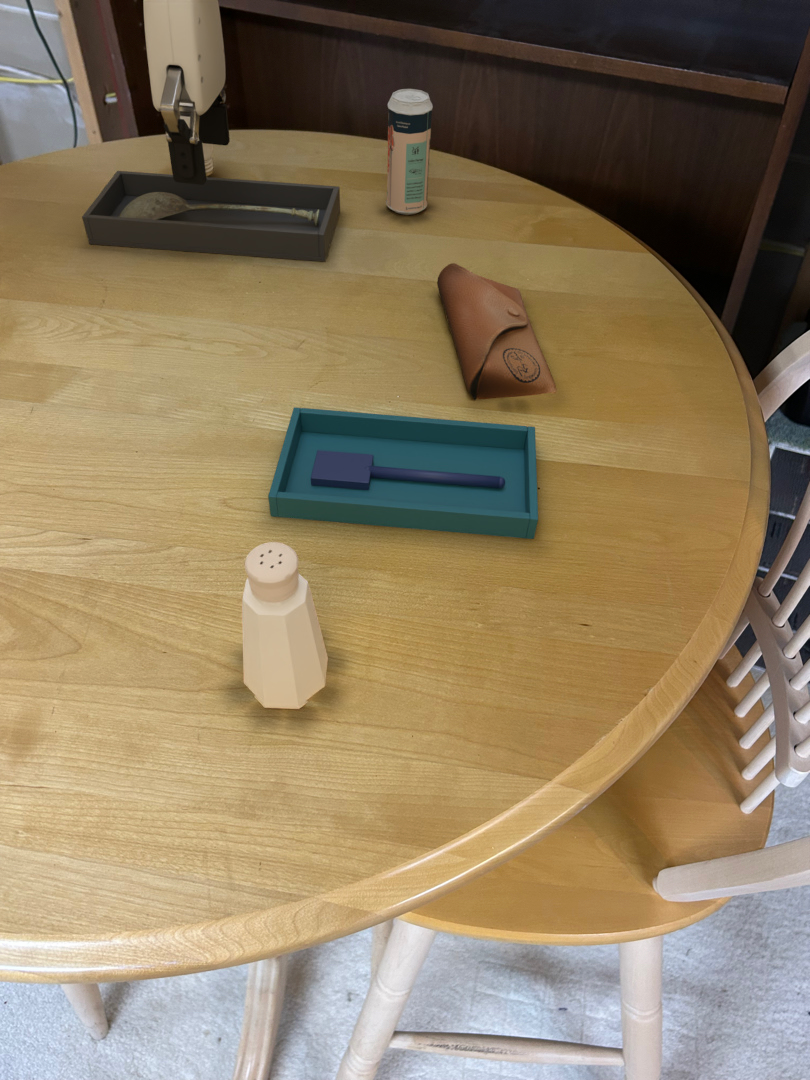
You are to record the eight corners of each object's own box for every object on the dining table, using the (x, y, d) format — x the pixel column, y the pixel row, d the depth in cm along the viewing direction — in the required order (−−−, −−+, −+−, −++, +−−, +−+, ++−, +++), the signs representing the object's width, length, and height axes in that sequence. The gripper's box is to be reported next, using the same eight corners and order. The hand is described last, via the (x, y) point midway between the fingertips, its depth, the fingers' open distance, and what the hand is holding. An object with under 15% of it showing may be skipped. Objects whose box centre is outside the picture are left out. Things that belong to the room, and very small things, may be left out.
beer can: (401, 194, 95) (405, 83, 86) (435, 206, 93) (442, 94, 85) (377, 208, 93) (378, 96, 84) (411, 221, 91) (416, 107, 82)
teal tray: (271, 520, 59) (267, 496, 57) (295, 431, 66) (293, 406, 64) (533, 543, 58) (538, 519, 56) (530, 450, 65) (535, 426, 63)
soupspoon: (127, 211, 90) (113, 242, 86) (118, 181, 88) (104, 212, 84) (322, 210, 90) (318, 241, 86) (319, 180, 88) (315, 211, 84)
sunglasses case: (565, 394, 69) (536, 339, 65) (492, 431, 71) (459, 380, 67) (517, 285, 81) (490, 232, 77) (456, 319, 83) (426, 269, 79)
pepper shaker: (226, 692, 49) (197, 578, 41) (271, 627, 52) (253, 509, 44) (304, 726, 48) (291, 614, 40) (345, 656, 51) (341, 540, 43)
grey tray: (89, 244, 85) (81, 216, 83) (123, 196, 93) (117, 170, 90) (325, 261, 84) (323, 234, 82) (340, 212, 92) (339, 186, 89)
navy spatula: (310, 485, 61) (310, 476, 60) (317, 457, 63) (317, 448, 62) (504, 501, 60) (505, 493, 60) (504, 473, 62) (506, 464, 62)
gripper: (165, -63, 76) (189, 126, 89) (103, -16, 65) (141, 195, 77) (243, -56, 76) (256, 133, 89) (195, -7, 64) (218, 203, 77)
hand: (203, 162), depth 83 cm, fingers open, 9 cm apart
